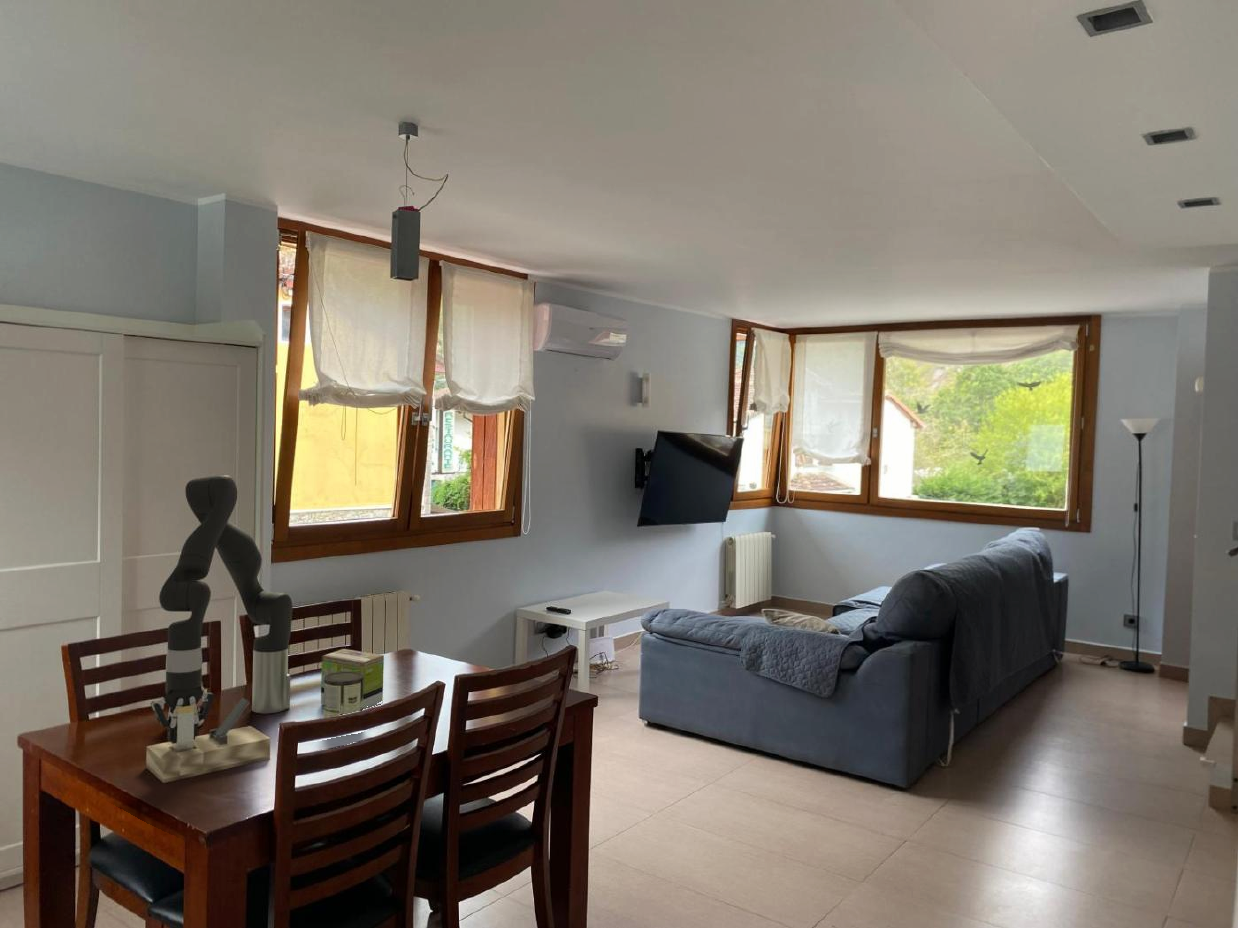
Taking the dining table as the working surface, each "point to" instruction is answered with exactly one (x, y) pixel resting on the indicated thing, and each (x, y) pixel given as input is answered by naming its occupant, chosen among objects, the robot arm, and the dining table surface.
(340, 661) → the tea box
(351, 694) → the coffee can
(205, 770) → the block
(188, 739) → the pin
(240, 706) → the lever
